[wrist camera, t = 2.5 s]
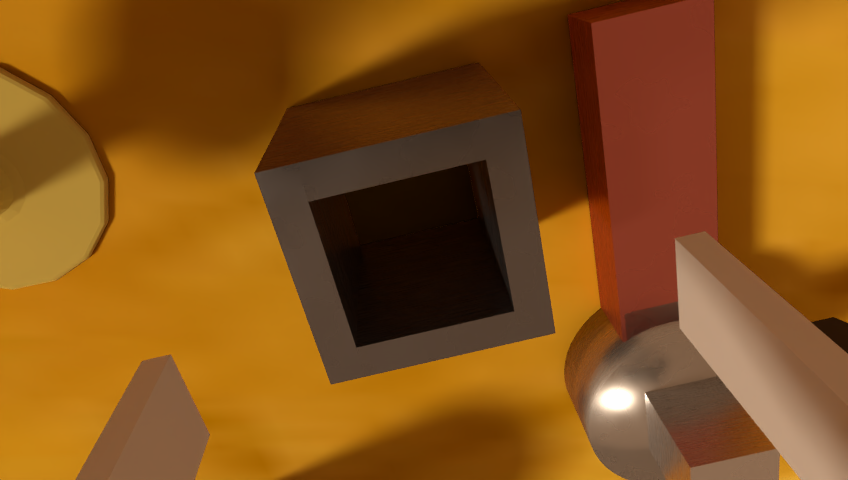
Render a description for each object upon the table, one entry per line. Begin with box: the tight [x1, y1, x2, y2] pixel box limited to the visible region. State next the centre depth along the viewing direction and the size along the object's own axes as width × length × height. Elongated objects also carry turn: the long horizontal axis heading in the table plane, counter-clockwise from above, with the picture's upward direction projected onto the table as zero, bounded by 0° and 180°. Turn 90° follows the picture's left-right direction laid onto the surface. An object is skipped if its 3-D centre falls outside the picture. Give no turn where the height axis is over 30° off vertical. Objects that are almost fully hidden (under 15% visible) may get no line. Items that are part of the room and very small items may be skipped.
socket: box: [255, 63, 555, 384], centre depth 24 cm, size 8×8×8 cm
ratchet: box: [564, 0, 780, 480], centre depth 26 cm, size 22×9×8 cm, turn 12°
